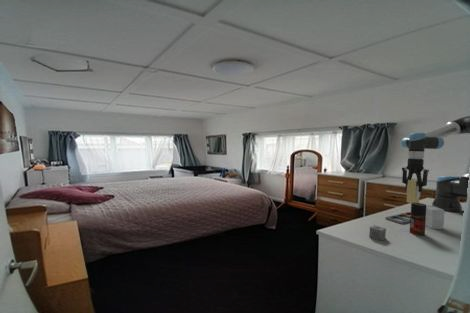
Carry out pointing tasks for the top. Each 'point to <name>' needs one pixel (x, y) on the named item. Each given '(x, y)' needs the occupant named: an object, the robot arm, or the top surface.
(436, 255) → the top surface
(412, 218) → the deodorant
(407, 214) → the grey flat frame
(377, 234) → the dice cube
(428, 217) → the small box
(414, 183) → the tan wooden beam
